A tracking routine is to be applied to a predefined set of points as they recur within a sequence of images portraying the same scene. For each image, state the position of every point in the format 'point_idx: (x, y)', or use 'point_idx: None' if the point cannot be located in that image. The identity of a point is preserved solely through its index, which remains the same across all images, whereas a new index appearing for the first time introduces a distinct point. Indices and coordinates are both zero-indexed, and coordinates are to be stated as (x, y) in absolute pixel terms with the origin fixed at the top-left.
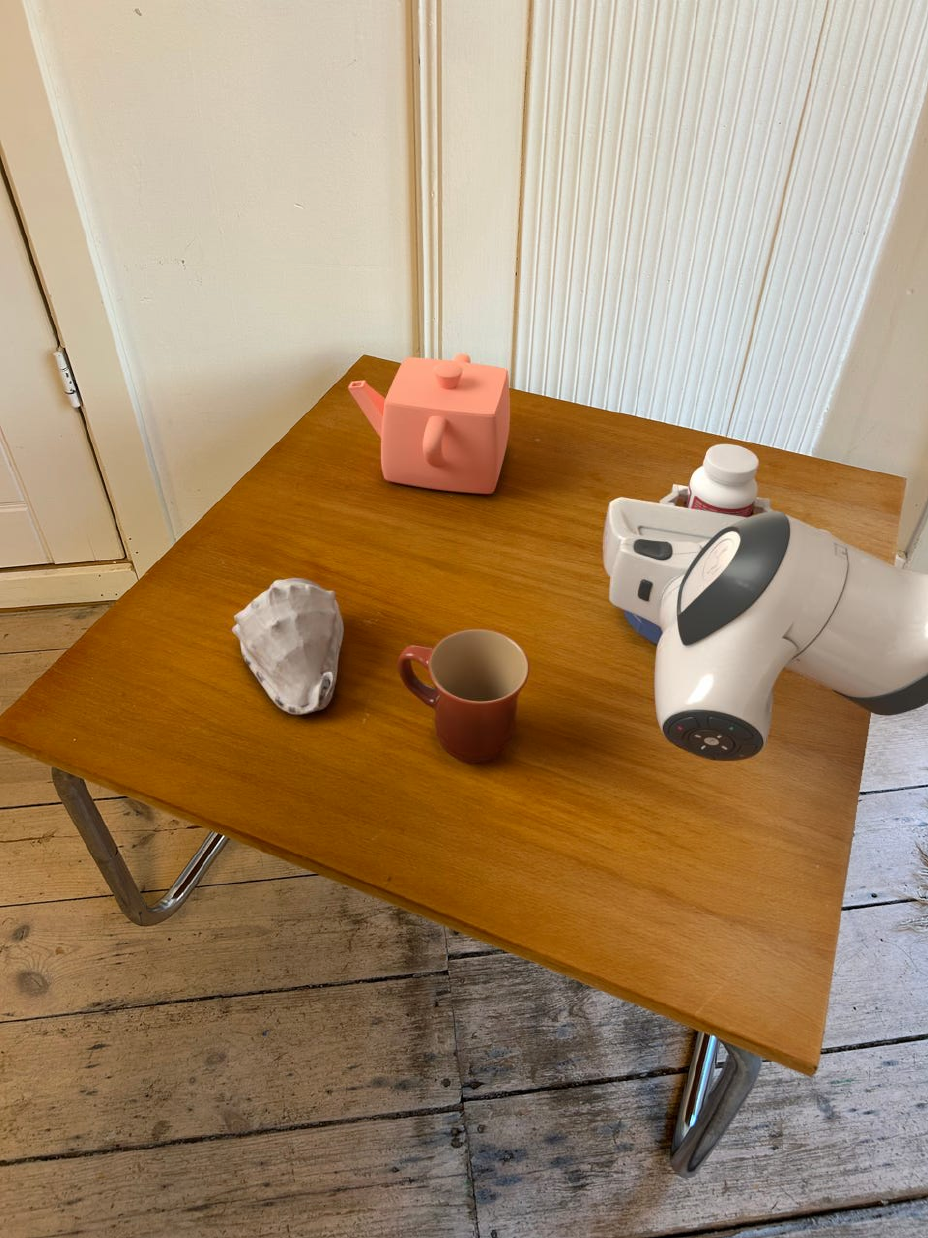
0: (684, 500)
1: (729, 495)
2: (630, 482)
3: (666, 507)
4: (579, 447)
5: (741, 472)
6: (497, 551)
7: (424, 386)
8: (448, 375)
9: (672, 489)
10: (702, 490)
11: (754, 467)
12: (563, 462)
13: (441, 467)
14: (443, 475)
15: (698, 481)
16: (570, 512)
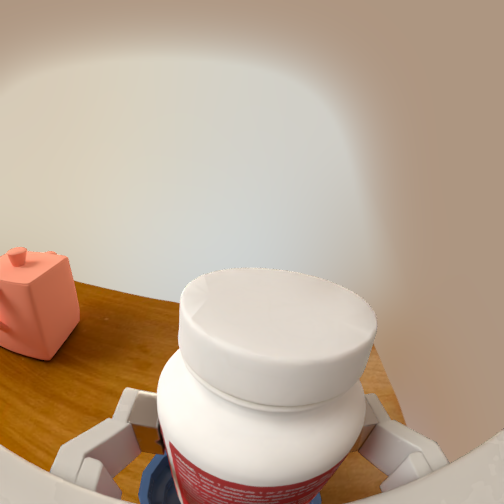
0: (153, 437)
1: (297, 448)
2: (173, 353)
3: (44, 494)
4: (136, 324)
5: (346, 354)
6: (33, 419)
7: (3, 264)
8: (12, 253)
9: (121, 403)
10: (184, 433)
11: (373, 322)
12: (119, 336)
13: (7, 332)
14: (11, 340)
15: (170, 395)
16: (111, 383)
